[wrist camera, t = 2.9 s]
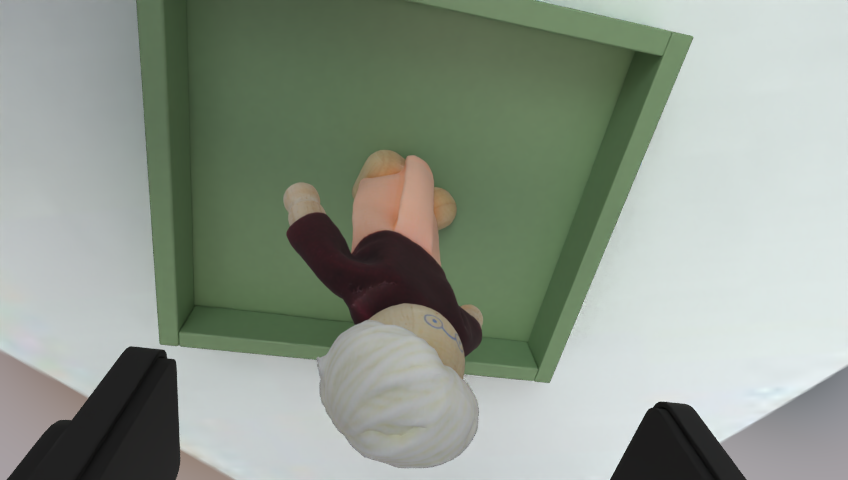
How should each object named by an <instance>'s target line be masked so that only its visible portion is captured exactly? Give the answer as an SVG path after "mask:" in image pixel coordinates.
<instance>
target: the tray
mask: <svg viewBox="0 0 848 480" xmlns="http://www.w3.org/2000/svg"><path fill="white" fill-rule="evenodd" d="M136 3H137V18H138V33H139V48H140V62H141V77H142V92H143V107H144V121H145V136H146V151H147V166H148V180H149V195H150V210H151V225H152V239H153V254H154V269H155V284H156V298H157V313H158V328H159V343H160V344H161V345H171V346H178V345H180V346H181V347H191V348H201V349H211V350H222V351H232V352H242V353H252V354H263V355H273V356H283V357H293V358H304V359H314V360H317V359H316V358H317V357H319V358H321V357H322V356H325V355H326V354H327V353H328V352H329V350H330V348H331V346H332V345H333V343H334V341H335V340H336V339H337V337H338V336H339V335H340V334H341V333H343V332H345V331H346V330H348V329H349V328H351V327H353V326H354V325H355V324H354V322H353V320H352V318H351V315H350V311H349V308H348V307H347V305H346V303H345V302H344V300H343V299H342V298H340V297H338V296H336V295H335V294H334V293H332V292H331V291H330V290H329V289H328V288H327V287H326V286H325V285H324V284H323V283H322V282H321V281H320V280H319V279H318V278H317V276H316V275H315V274H314V272H313V271H312V270H311V268H310V267H309V266H308V265H307V264H306V262H305V261H304V260H303V259H302V257H301V256H300V255H299V254H298V253H297V252H296V251H295V250H294V248H293V247H292V246H291V244H290V242H289V240H288V238H287V236H286V232H287V230H288V228H289V227H290V225H289V221H288V214H289V213H288V211H287V210H286V208H285V206H284V202H283V197H284V194H285V191H286V190H287V188H289V187H290V186H291V185H293V184H295V183H299V182H303V183H308V184H310V185H312V186H313V187H314V188H315V189H316V190H317V192H318V194H319V197H320V205H321V206H322V207H323V208H324V210H325V212H326V214H327V215H328V216H329V217H330V219H331V220H332V222H333V223H334V224H335V225H336V226H337V227H338V228H339V230H340V232H341V234H342V235H343V237H344V238H345V240H346V242H347V244H348V247H349V250H350V252H351V249H352V240H353V226H352V213H353V202H354V199H353V196H352V189H353V185H354V183H355V181H356V179H357V177H358V175H359V173H360V171H361V169H362V167H363V165H364V163H365V162H366V160H367V158H368V157H369V156H370V155H371V154H373V153H374V152H376V151H379V150H391V151H394V152H396V153H398V154H399V155H400V156H402V157H403V158H404V159H406V157H407V156H410V155H415V156H417V157H419V158H421V159H422V160H424V161H425V162H426V163H427V164H428V165H429V167H430V169H431V171H432V174H433V179H434V187H439V188H443V189H445V190H446V191H448V192H449V193H450V195H451V196H452V197H453V199H454V200H455V203H456V207H457V212H456V216H455V218H454V220H453V221H452V223H451V224H450V225H449V226H447V227H445V228H443V229H441V230H438V234H439V250H440V261H441V268H442V269H443V270H444V272H445V275H446V278H447V280H448V282H449V283H450V285H451V287H452V289H453V291H454V294H455V297H456V300H457V303H458V305H459V306H462V305H474V306H475V307H477V308H478V309H479V310H480V311H481V313H482V316H483V324H482V341H481V343H480V345H479V346H478V347H477V348H476V349H474V350H473V351H472V352H471V353H470V354H469V355H467V356H466V357H465V371H464V374H467V375H478V376H488V377H498V378H508V379H518V380H529V381H533V380H534V381H535V382H545V383H550V381H551V378H552V376H553V374H554V371H555V369H556V366H557V364H558V362H559V359H560V357H561V354H562V352H563V350H564V347H565V345H566V342H567V340H568V338H569V335H570V333H571V330H572V328H573V326H574V323H575V321H576V318H577V316H578V314H579V311H580V309H581V306H582V304H583V302H584V299H585V297H586V294H587V292H588V290H589V287H590V285H591V282H592V280H593V278H594V275H595V273H596V270H597V268H598V266H599V263H600V261H601V258H602V256H603V254H604V251H605V249H606V246H607V244H608V242H609V239H610V237H611V234H612V232H613V230H614V227H615V225H616V222H617V220H618V218H619V215H620V213H621V210H622V208H623V206H624V203H625V201H626V198H627V196H628V193H629V191H630V189H631V186H632V184H633V181H634V179H635V177H636V174H637V172H638V169H639V167H640V165H641V162H642V160H643V157H644V155H645V153H646V150H647V148H648V145H649V143H650V141H651V138H652V136H653V133H654V131H655V129H656V126H657V124H658V121H659V119H660V117H661V114H662V112H663V109H664V107H665V105H666V102H667V100H668V97H669V95H670V93H671V90H672V88H673V85H674V83H675V81H676V78H677V76H678V73H679V71H680V69H681V66H682V64H683V61H684V59H685V57H686V54H687V52H688V49H689V47H690V45H691V42H692V40H693V36H690V35H685V34H681V33H676V32H671V31H668V30H663V29H659V28H654V27H650V26H646V25H641V24H637V23H632V22H628V21H624V20H619V19H615V18H610V17H606V16H602V15H597V14H593V13H588V12H584V11H580V10H575V9H571V8H566V7H562V6H558V5H553V4H549V3H544V2H540V1H536V0H136Z"/></svg>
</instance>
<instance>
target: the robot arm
mask: <svg viewBox="0 0 848 480" xmlns="http://www.w3.org/2000/svg"><path fill="white" fill-rule="evenodd" d="M179 466H180V442H179V417H178V393H177V368H176V361H175V360H174V359H167V354H166V352H165V350H160V349H151V348H141V347H131V346H130V347H128V348H127V349H126V350H125V351H124V352H123V353H122V354H121V356H120V357H119V358H118V360H117V361H116V362H115V364H114V365H113V366H112V368H111V369H110V370H109V372H108V373H107V374H106V376H105V377H104V378H103V380H102V381H101V382H100V384H99V385H98V386H97V388H96V389H95V390H94V392H93V393H92V394H91V396H90V397H89V398H88V400H87V401H86V402H85V404H84V405H83V406H82V407H81V409H80V410H79V412H78V413H77V414H76V415H75V417H74V418H73V419H72V420H60V421H57V422H56V423H54V424H53V425H51V426H50V427H49V428H48V429H47V431H45V433H44V434H43V435H42V436H41V438H40V439H39V440H38V441H37V442H36V444H35V445H34V446H33V447H32V449H31V450H30V451H29V452H28V454H27V455H26V456H25V458H24V459H23V460H22V461H21V463H20V464H19V465H18V466H17V468H16V469H15V470H14V471H13V473H12V474H11V475H10V476H9V478H8V479H7V480H176V477H177V474H178V471H179ZM610 480H746V479H745V477H744V476H743V474H742V473H741V472H740V470H739V469H738V468H737V466H736V465H735V464H734V462H733V461H732V459H731V458H730V457H729V455H728V454H727V453H726V451H725V450H724V449H723V447H722V446H721V445H720V443H719V442H718V441H717V439H716V438H715V437H714V435H713V434H712V433H711V431H710V430H709V429H708V427H707V426H706V425H705V423H704V422H703V420H702V419H701V418H700V416H699V415H698V414H697V412H696V411H695V410H694V409H693V408H692V407H691V406H689V405H687V404H680V403H670V402H658V403H656V404H655V406H654V407H653V408H650V409H649V410H648V411H647V412H646V414H645V416H644V418H643V420H642V421H641V423H640V425H639V427H638V429H637V431H636V433H635V434H634V436H633V438H632V440H631V442H630V444H629V446H628V447H627V449H626V451H625V453H624V455H623V457H622V459H621V460H620V462H619V464H618V466H617V468H616V470H615V472H614V473H613V475H612V477H611V479H610Z"/></svg>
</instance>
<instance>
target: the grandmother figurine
mask: <svg viewBox="0 0 848 480" xmlns="http://www.w3.org/2000/svg"><path fill="white" fill-rule="evenodd" d="M352 196H353V199H354V202H353V213H352V226H353V240H352V249H351V252H350V250H349V247H348V244H347V242H346V240H345V238H344V237H343V235H342V234H341V232H340V230H339V228H338V227H337V226H336V225H335V224H334V223H333V222H332V220H331V219H330V217H329V216H328V215H327V214H326V212H325V210H324V208H323V207H322V206H321V205H320V197H319V194H318V192H317V190H316V189H315V188H314V187H313V186H312V185H310V184H308V183H303V182H299V183H295V184H293V185H291V186H290V187H289V188H287V190H286V191H285V194H284V197H283V202H284V206H285V208H286V210H287V211H288V213H289V214H288V221H289V225H290V227H289V228H288V230H287V232H286V236H287V238H288V240H289V242H290V244H291V246H292V247H293V248H294V250H295V251H296V252H297V253H298V254H299V255H300V256H301V257H302V259H303V260H304V261H305V262H306V264H307V265H308V266H309V267H310V268H311V270H312V271H313V272H314V274H315V275H316V276H317V278H318V279H319V280H320V281H321V282H322V283H323V284H324V285H325V286H326V287H327V288H328V289H329V290H330V291H331V292H332V293H334V294H335V295H336V296H338V297H340V298H342V299H343V300H344V302H345V303H346V305H347V307H348V308H349V311H350V315H351V318H352V320H353V322H354V324H355V325H354V326H353V327H351V328H349V329H348V330H346V331H345V332H343V333H341V334H340V335H339V336H338V337H337V339H336V340H335V341H334V343H333V345H332V346H331V348H330V350H329V352H328V353H327V354H326V355H325V356H322V357H321V358H319V357H317V358H316V359H317V362H318V370H319V375H320V378H321V380H320V397H321V401H322V404H323V405H324V407H325V410H326V412H327V414H328V415H329V417H330V418H331V420H332V422H333V424H334V425H335V427H336V428H337V429H338V431H339V432H340V433H342V434H343V435H344V436H345V437H346V439H347V440H348V442H349V443H350V445H351V446H352V447H353V448H354V449H355V450H356V451H358V452H359V453H360V454H361V455H362V456H364V457H366V458H369V459H373V460H377V461H380V462H383V463H386V464H389V465H392V466H395V467H398V468H429V467H434V466H438V465H441V464H444V463H446V462H448V461H451V460H453V459H454V458H456V457H457V456H459V455H460V454H461V453H462V452H463V451H464V450H465V449H466V448H467V447H468V445H469V444H470V443H471V441H472V440H473V438H474V436H475V434H476V432H477V428H478V416H479V407H478V402H477V399H476V397H475V395H474V393H473V392H472V390H471V388H470V387H469V385H468V383H466V382H465V381H464V380H463V376H464V371H465V357H466V356H467V355H469V354H470V353H471V352H472V351H473V350H474V349H476V348H477V347H478V346H479V345H480V343H481V341H482V324H483V316H482V313H481V311H480V310H479V309H478V308H477V307H475V306H474V305H462V306H459V305H458V303H457V300H456V297H455V294H454V291H453V289H452V287H451V285H450V283H449V282H448V280H447V278H446V275H445V272H444V270H443V269H442V268H441V261H440V250H439V234H438V230H441V229H443V228H445V227H447V226H449V225H450V224H451V223H452V221H453V220H454V218H455V216H456V212H457V207H456V203H455V200H454V199H453V197H452V196H451V195H450V193H449V192H448V191H446V190H445V189H443V188H439V187H434V179H433V174H432V171H431V169H430V167H429V165H428V164H427V163H426V162H425V161H424V160H422V159H421V158H419V157H417V156H415V155H410V156H407V157H406V159H404V158H403V157H402V156H400V155H399V154H398V153H396V152H394V151H391V150H379V151H376V152H374V153H373V154H371V155H370V156H369V157H368V158H367V160H366V162H365V163H364V165H363V167H362V169H361V171H360V173H359V175H358V177H357V179H356V181H355V183H354V185H353V189H352Z"/></svg>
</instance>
